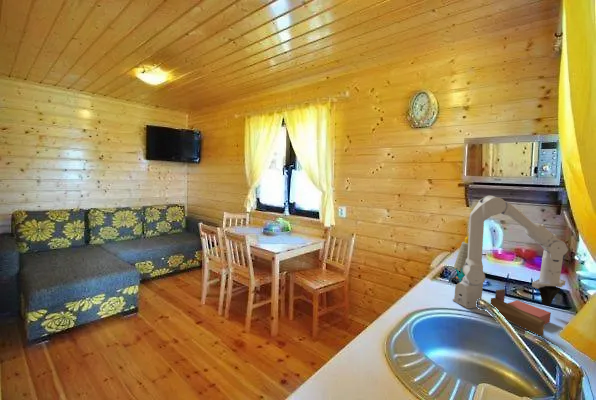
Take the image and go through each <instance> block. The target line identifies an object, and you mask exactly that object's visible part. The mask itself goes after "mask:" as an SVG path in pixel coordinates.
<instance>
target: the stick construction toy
mask: <svg viewBox="0 0 596 400" xmlns="http://www.w3.org/2000/svg"><path fill="white" fill-rule="evenodd" d="M455 272H456V274H455V275H454V277H452V278H450V280H451V279H452V280H451V281H453V280H458V281H459V283H460V282H462V280H463V277H464V276H465V274H464V273H463V271H462V268H461V272H459V271H458V270H457V268H456V270H455Z"/></svg>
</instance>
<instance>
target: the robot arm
mask: <svg viewBox="0 0 596 400" xmlns="http://www.w3.org/2000/svg"><path fill="white" fill-rule="evenodd" d="M500 214H501V215H504V216H508V217H509V218H511V219H513V221H515V222H516V223H517V224H519V225H520V226H521V227H523V228H524V229H525V230H524V231H525V234H526V235H527V236H528V237H530V239H531V240H533V241H534V242H536V244H537V245H539V246H540V247H541V249H543V252H542V253H543V254H542V259H541V266H540V272H539V273H540V275H539V278H538V279H536V280H534V281H532V284H531V287H532V288H535V289H538V292H539V295H540V299H541V304H542V305H545V306H547V307H548V306H549V307H550V306H551V305H552V302H553V301H554V299H555V297H556V296H557V294H559V292H561V288H562V287H563V286H566V280H565V279H562V278H561V274H562V267H563V261H564V256H565V255H566V254H567V253H568V251H569V248H568V247H567V244H566V243H565V241H563V240H561V239H559V238H557V237H558V235H557V234H555V233H552V232H551V231H549V229H547V226H546V225H545V224H543V223H539V222H538V223H537V222H536V223H535V222H532V221H531V220H530V219H529V218H528V217H527V216H525V215H524V213H522V212H521V211H519V209H517V208H516V207H515V206H514V205H512V204H510V203H509V202H508V201H505V200H504V199H503V198H502V197H497V196H494V195H485V196H484V197H483V198H481V199H479V200H478V203H476V205H475V206H474V208H473V209H472V210H471V212H470V213H469V217H468V218H469V219H468V220H469V223H468V233H469V237H468V256H467V259H466V262H465V265H464V266H463V273H464V274H465V276H464V277H463V280H461V282H460V281H459V282H458V283H457V284H456V285H455V289H454V298H452V301H454V302H455V303H457V304H459V305H461V306H463V307H464V308H466V309H474V308H477V307H476V301H477V299H479V298H480V299H481V300H482V299H483V298H482V297H483V287H484V282H485V280H486V274H485V273H484V265H483V261H482V260H483V259H482V258H483V247H484V246H483V245H484V244H483V243H484V231H485V230H484V228H485V221H486V220H488V219H490V218H491V217H493V216H497V215H500Z"/></svg>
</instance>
